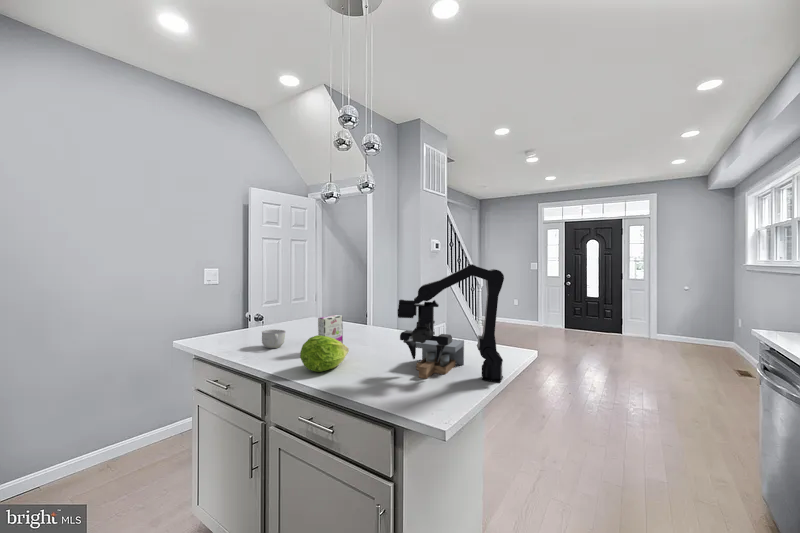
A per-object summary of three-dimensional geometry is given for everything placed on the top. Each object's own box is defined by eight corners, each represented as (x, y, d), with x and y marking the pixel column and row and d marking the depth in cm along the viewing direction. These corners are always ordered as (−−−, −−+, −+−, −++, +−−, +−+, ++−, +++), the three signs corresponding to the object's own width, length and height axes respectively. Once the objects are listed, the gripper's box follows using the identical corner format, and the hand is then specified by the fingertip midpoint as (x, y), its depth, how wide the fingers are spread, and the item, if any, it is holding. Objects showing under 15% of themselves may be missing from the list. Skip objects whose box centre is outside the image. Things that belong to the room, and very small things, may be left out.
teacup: (262, 345, 179) (262, 329, 179) (285, 343, 182) (285, 328, 182) (260, 352, 166) (260, 334, 166) (285, 350, 169) (285, 333, 169)
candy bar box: (335, 348, 173) (335, 314, 173) (343, 350, 170) (343, 315, 170) (317, 353, 164) (317, 317, 164) (324, 355, 161) (324, 318, 161)
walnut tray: (455, 366, 146) (455, 352, 146) (438, 380, 128) (438, 365, 128) (427, 362, 152) (427, 349, 151) (407, 375, 134) (407, 360, 133)
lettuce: (362, 365, 150) (359, 331, 153) (323, 373, 129) (320, 334, 132) (334, 367, 157) (332, 335, 160) (292, 375, 136) (291, 338, 139)
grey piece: (463, 364, 148) (464, 340, 148) (455, 373, 137) (455, 347, 136) (423, 359, 156) (423, 336, 155) (411, 367, 144) (411, 342, 144)
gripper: (393, 319, 130) (393, 363, 130) (443, 324, 122) (442, 370, 122) (406, 315, 140) (405, 355, 140) (452, 319, 132) (452, 361, 132)
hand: (425, 360), depth 133 cm, fingers open, 9 cm apart
